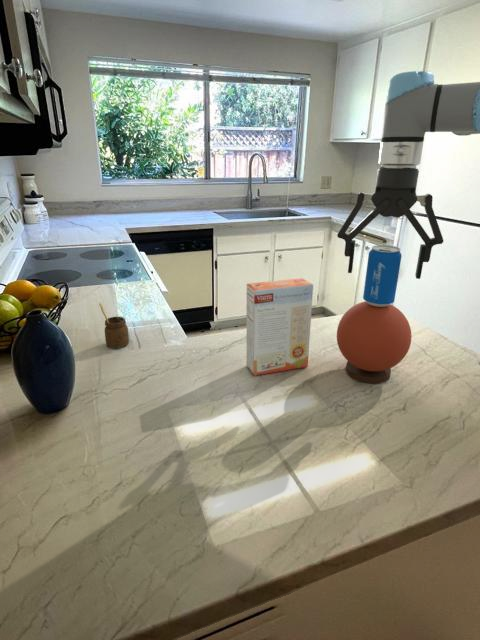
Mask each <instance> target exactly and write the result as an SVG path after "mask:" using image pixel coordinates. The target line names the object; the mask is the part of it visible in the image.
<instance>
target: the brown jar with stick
mask: <svg viewBox="0 0 480 640" xmlns="http://www.w3.org/2000/svg"><path fill="white" fill-rule="evenodd" d="M98 305H99V307H100V310H101V312H102V314H103V316H104V318H105V321H104V325H105V327H104V338H105V344H106V346H107V347H108V348H109V349H122V348H124V347H127V346H128V345H129V343H130V336H129V328H128V325H127V324H126V323H127V321H126V319H125V316H126V315H127V314H126V306H125V305H124V304H120V305H118V307H117V310H115V311H116V313H115V314H116V315H115V316H111V317H107V315H106V311H105V309H104V307H103V305H102V303H101V302H99V304H98ZM119 308H120V311H122V309H123V310H124V312H123V314H124V316H118V310H119Z"/></svg>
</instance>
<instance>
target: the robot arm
mask: <svg viewBox="0 0 480 640" xmlns="http://www.w3.org/2000/svg"><path fill="white" fill-rule="evenodd" d="M434 79H435V75H434V73H433V72H431V71H428V70H427V71H425V70H421V71H417V70H413V71H405V72H400V73H396V74H395V75H393V76H392V77H391V78H390V80H389V83H388V89H387V95H386V100H385V102H384V112H383V122H382V132H381V139H380V145H379V153H378V154H379V155H378V165H379V166H380V167H379V168H378V169H377V170H376V179H375V187H374V191H373V193H366V192H364V191H360V192H359V193H358V195H357V199H356V203H355V205H354V207H352V210H351V212H350V213H349V215H348V216H347V218H346V220H345V221H344V223H343V225H342V226H341V227H340V230H339V231H338V233H337V235H336V237H337V238H338V239H342V240H344V243H345V244H344V252H343V253H344V257H348V258H349V259H348V269H347V273H348V274H352V273H353V267H354V259H355V249H356V239H355V238H356V237H357V236H358V235H359V234H360V232H362V231H363V230H364V229H365V228H367V226H368V225H370V223H372V221H373V220H374V219H376V218H377V217H378V216H379V215H380V216H381V217H383V218H389V217H394V218H401V217H403V216H405V218H407V220H408V222H409V223H410V224H411V226H412V227H413V229H414V230H415V232H416V233H417V234H418V236H419V237H420V238H421V240H422V241H423V243H424V244H423V243H420V246H419V251H418V258H417V262H416V263H417V264H416V268H415V274H414V275H415V280H416V279H418V280H420V279H421V277H422V271H423V266H424V263H429V262H430V260H431V254H432V249H433V247H434V246H436V245H442V244H443V243H444V238H443V235H442V231H441V229H440V225H439V223H438V220H437V217H436V214H435V210H434V208H433V195H432V194H431V193H426V194H420V195H419V194H417V185H418V179H419V173H420V170H419V168H417V166H419V165H421V160H422V153H423V147H424V142H425V135H426V133H452V134H454V135H456V136H460V137H462V136H464V137H466V136H471V135H480V81H473V82H460V83H448V84H443V83H442V84H439V83H435V80H434ZM369 201H371V202H372V204H373V205H374V208H373V209H372V210H371V211H370V212H369V213H368V214H367V215H366V216H365V217H364V218H363V219H362V220H361V221H360V222H359V223H358V224H357V225H356V226H355V227H354V228H353V229H352V230H351V231H350V232H349V233H348V232H347V231H348V229H349V228H350V226H351V224H352V223H353V221H354V220H355V218H356V216H357V215H358V214H359V212H360V210H361V208H362V206H363V205H366V204H368V202H369ZM417 202H419V205H420V206H421V207H423V209H424V211H425V214H426V217H427V220H428V223H429V225H430V228H431V232H432V234H433V237H430V236H429V235H428V233H427V231H426V230H425V229H424V228H423V226H422V224H421V223H420V221H419V220H418V219H417V217H416V216H415V215H414V213H413V212H412V210H411V209H412V208H413V206H414V205H416V203H417Z"/></svg>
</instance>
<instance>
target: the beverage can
mask: <svg viewBox="0 0 480 640" xmlns="http://www.w3.org/2000/svg"><path fill="white" fill-rule="evenodd" d="M401 262H402V253H401V248H400V247H398V246H394V245H387V244H378V245H377V244H376V245H372V246H371V249H370V251H368V257H367V265H366V271H365V280H364V287H363V294H362V298H363V300H364V302H365V301H366V302H367V303H368V304H370V305H373V306H378V307H385V306H389V305H390V304H391V305H393V304H394V303H395V299H396V294H397V293H396V292H397V287H398V281H399V274H400V270H401V269H400V268H401Z"/></svg>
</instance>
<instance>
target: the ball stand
mask: <svg viewBox="0 0 480 640" xmlns="http://www.w3.org/2000/svg"><path fill="white" fill-rule="evenodd" d="M412 336H413V335H412V329H411V326H410V323H409V321H408V319H407V317H406V316H405V314H404V313H403V312H402V311H401V310H400V309H399V308H398V307H396V306H395V305H394V304H390V305H389V306H385V307H378V306H373V305H370V304H368V303H367V302H366V301H365V300H364V301H361V302H359V303H357V304H355V305H353V306H351V307H350V308H348V310H347V311H346V312H345V313H344V314H343V315H342V316H341V318H340V320H339V322H338V325H337V329H336V342H337V346H338V349H339V352H340V353H341V355H342V357H343V358H345V360H346V365H345V373H346V374H347V376H349V377H350V378H351V379H353V380H355V381H358V382H360V383H364V384H369V385H377V384H383V383H386V382H388V381H389V380H390V378H391V373H392V368H394V367H395V366H397V365H398V364H399V363H401V362H402V361H403V360H404V359H405V357H406V356H407V354H408V352H409V350H410V348H411V344H412Z"/></svg>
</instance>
